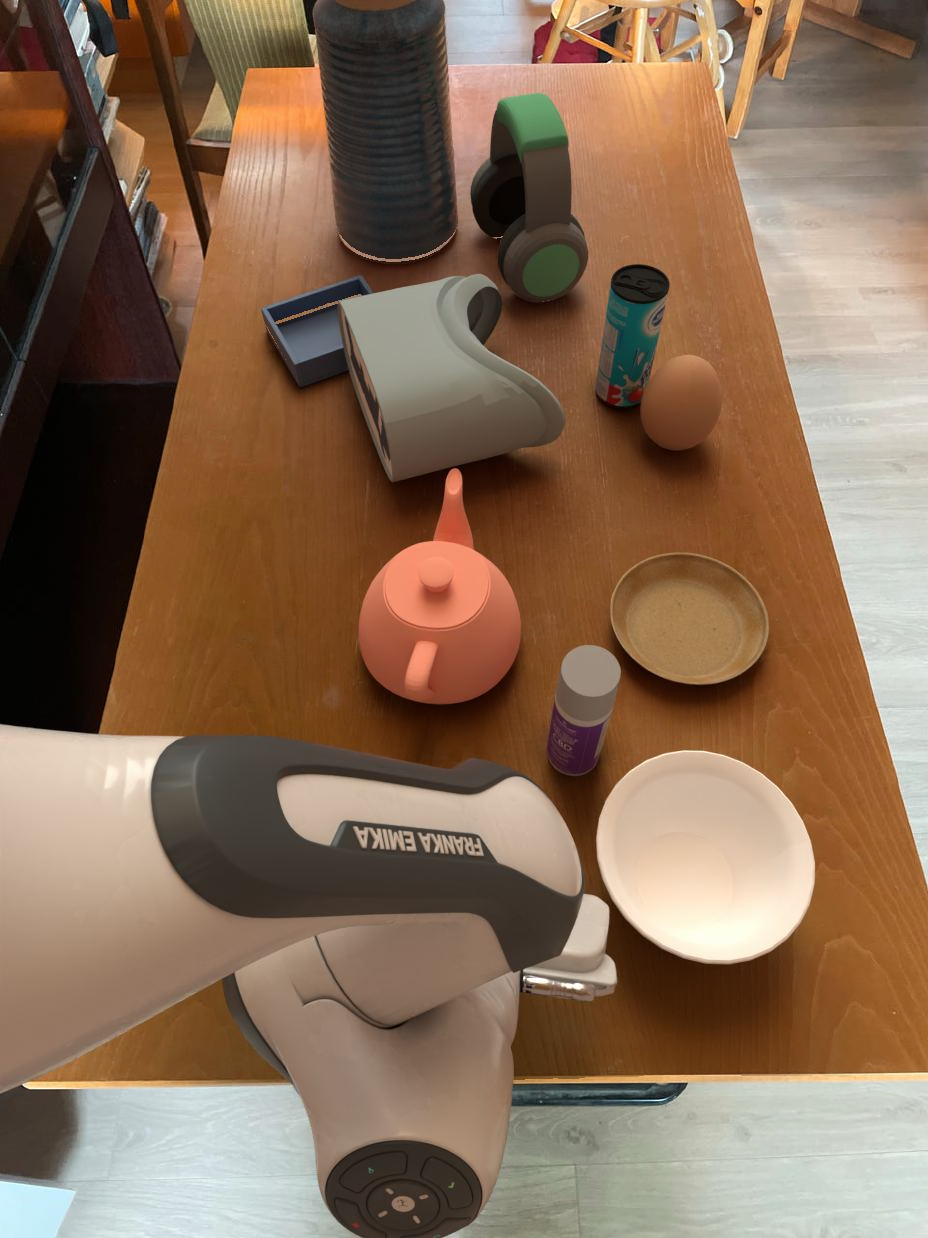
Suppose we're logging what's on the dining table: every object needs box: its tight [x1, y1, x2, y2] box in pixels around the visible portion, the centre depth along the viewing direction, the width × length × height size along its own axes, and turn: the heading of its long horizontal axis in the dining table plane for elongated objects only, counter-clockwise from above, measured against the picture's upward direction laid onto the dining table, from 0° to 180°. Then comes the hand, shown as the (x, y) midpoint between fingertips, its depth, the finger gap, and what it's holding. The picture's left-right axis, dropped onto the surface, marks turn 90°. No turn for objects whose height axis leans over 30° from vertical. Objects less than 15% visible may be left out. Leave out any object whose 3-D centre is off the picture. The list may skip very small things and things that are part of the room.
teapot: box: [357, 467, 522, 705], centre depth 79 cm, size 22×15×12 cm
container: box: [546, 644, 622, 777], centre depth 72 cm, size 5×5×15 cm
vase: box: [312, 0, 459, 265], centre depth 105 cm, size 16×16×32 cm
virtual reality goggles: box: [337, 273, 566, 483], centre depth 95 cm, size 22×19×13 cm
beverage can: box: [594, 263, 671, 410], centre depth 95 cm, size 6×6×15 cm
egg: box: [640, 354, 723, 451], centre depth 93 cm, size 8×8×11 cm
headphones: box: [469, 92, 589, 303], centre depth 106 cm, size 19×11×20 cm, turn 15°
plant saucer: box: [609, 552, 770, 686], centre depth 83 cm, size 15×15×3 cm
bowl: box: [595, 750, 816, 965], centre depth 68 cm, size 16×16×8 cm
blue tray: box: [260, 274, 375, 388], centre depth 106 cm, size 13×11×4 cm
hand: (470, 865), depth 67 cm, fingers closed on lemon, 5 cm apart
